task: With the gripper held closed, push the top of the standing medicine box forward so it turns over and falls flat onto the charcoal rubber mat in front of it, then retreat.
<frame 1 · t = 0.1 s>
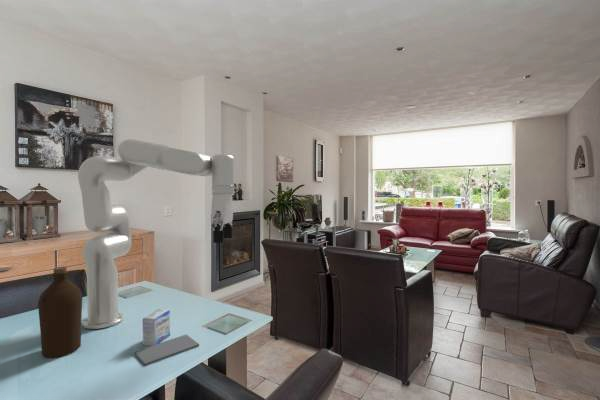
hand: (223, 240, 110), 31 cm above the table, tool pointing down, fingers open, 9 cm apart
medicine box: (156, 340, 103), on the table
olive oil: (62, 350, 96), on the table
mat: (167, 349, 97), on the table
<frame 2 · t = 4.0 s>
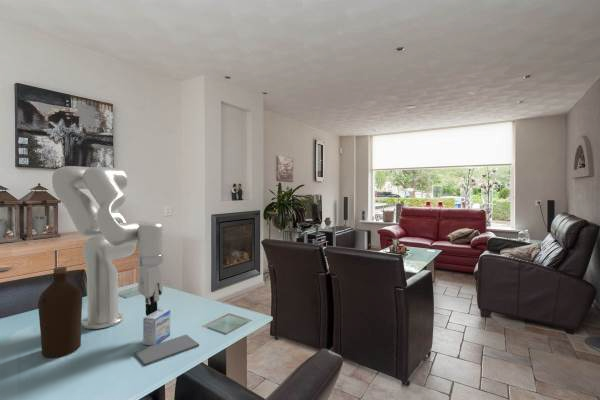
hand: (151, 314, 106), 7 cm above the table, tool pointing down, fingers closed
nothing on the table moved.
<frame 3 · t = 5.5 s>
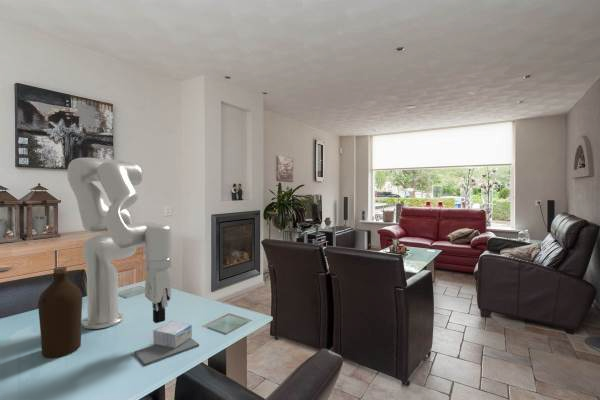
hand: (159, 321, 101), 7 cm above the table, tool pointing down, fingers closed
medicine box: (161, 331, 103), point 3 cm above the table, touching mat
everything else where it was.
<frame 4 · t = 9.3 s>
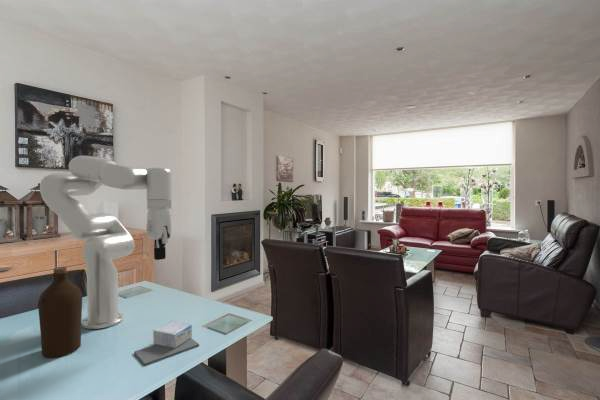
hand: (159, 258, 108), 25 cm above the table, tool pointing down, fingers closed
nothing on the table moved.
at the end: medicine box tilted 90°; medicine box inside the target area on the mat (4.9 cm from its centre), point 2.8 cm above the mat's base; the gripper is holding nothing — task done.
